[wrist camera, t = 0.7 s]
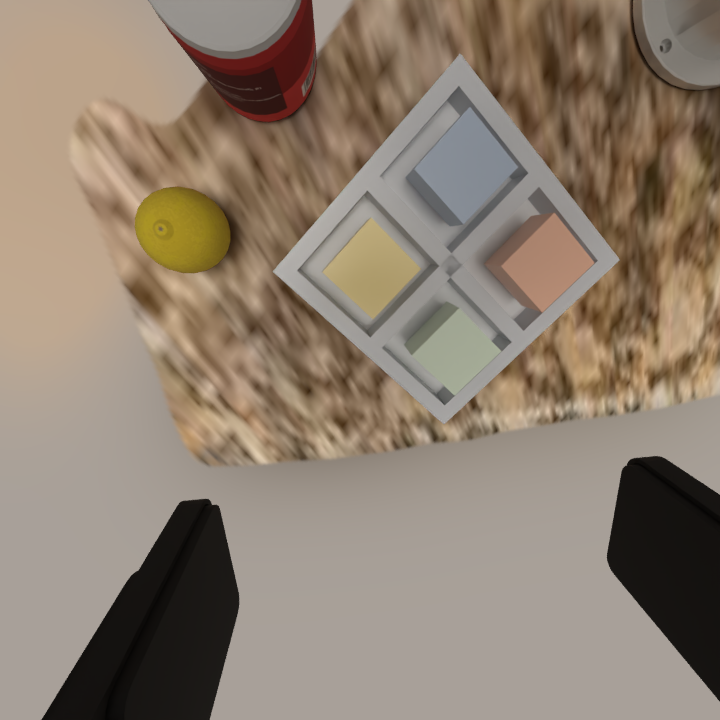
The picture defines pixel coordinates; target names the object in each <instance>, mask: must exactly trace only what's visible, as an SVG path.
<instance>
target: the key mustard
mask: <svg viewBox="0 0 720 720" xmlns="http://www.w3.org/2000/svg"><path fill="white" fill-rule="evenodd" d="M420 270H421V268H420V267H419V266H418V265H417V264H416V263H415V262H414V261H413V260H412V259H411V258H410V257H409V256H408V255H407V254H406V253H405V252H404V251H403V250H402V249H401V247H400V246H399V245H398V244H397V243H396V242H395V241H394V240H393V239H392V238H391V237H390V236H389V235H388V234H387V233H386V232H385V231H384V230H383V229H382V228H381V227H380V226H379V225H378V224H377V223H376V222H375V221H374V220H373V219H372V218H370V219H368V220H367V221H366V222H365V223H364V224H363V225H362V227H361V228H360V229H359V230H358V231H357V232H356V233H355V234H354V235H353V237H352V238H351V239H350V240H349V241H348V242H347V243H346V244H345V246H344V247H343V248H342V249H341V250H340V251H339V252H338V253H337V255H336V256H335V257H334V258H333V259H332V260H331V261H330V262H329V264H328V265H327V266H326V267H325V268H324V269H323V272H322V273H324V274H325V275H326V276H327V277H328V278H329V279H330V280H331V281H332V282H333V283H334V284H335V285H336V286H338V287H339V288H340V289H341V290H342V291H343V292H344V293H345V294H346V295H347V296H348V297H349V298H350V299H351V300H353V301H354V302H355V303H356V304H357V305H358V306H359V307H360V308H361V309H362V310H363V311H364V312H365V313H366V314H368V315H369V316H370V317H371V318H372V319H374V318H375V317H376V316H377V315H378V314H379V313H380V312H381V311H382V310H383V309H384V308H385V307H386V305H387V304H388V303H389V302H390V301H391V300H392V299H393V298H394V297H395V296H396V295H397V294H398V293H399V292H400V291H401V290H402V289H403V288H404V287H405V285H406V284H407V283H408V282H409V281H410V280H411V279H412V278H413V277H414V276H415V275H416V274H417V273H418V272H419V271H420Z"/></svg>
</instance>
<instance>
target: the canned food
mask: <svg viewBox="0 0 720 720" xmlns="http://www.w3.org/2000/svg"><path fill="white" fill-rule="evenodd" d="M148 1H149V2H150V4H151V5H152V7H153V9H154V10H155V12H156V13H157V15H158V16H159V18H160V19H161V20H162V22H163V23H164V24H165V25H166V27H167V29H168V30H169V31H170V33H171V34H172V35H173V37H174V38H175V39H176V40H177V42H178V43H179V44H180V45H181V47H182V48H183V49H184V50H185V52H186V53H187V54H188V56H189V57H190V58H191V59H192V61H193V62H194V63H195V65H196V66H197V67H198V68H199V70H200V71H201V72H202V74H203V75H204V76H205V77H206V79H207V80H208V81H209V82H210V84H211V85H212V86H213V88H214V89H215V90H216V91H217V93H218V94H219V95H220V96H221V98H222V99H223V100H224V101H225V102H226V103H227V104H228V105H229V106H230V107H231V108H232V109H234V110H235V111H236V112H238V113H239V114H241V115H243V116H245V117H247V118H249V119H253V120H256V121H266V122H271V121H276V120H280V119H283V118H285V117H287V116H289V115H291V114H292V113H293V112H294V111H296V110H297V109H298V108H299V107H300V106H301V104H302V103H303V102H304V101H305V99H306V98H307V96H308V94H309V92H310V90H311V87H312V84H313V81H314V78H315V71H316V43H315V31H314V19H313V7H312V0H148Z"/></svg>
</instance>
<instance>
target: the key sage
mask: <svg viewBox="0 0 720 720" xmlns="http://www.w3.org/2000/svg"><path fill="white" fill-rule="evenodd" d="M404 345H405V347H406V348H407V350H408V351H409V353H410V354H411V355H412V356H413V357H414V358H415V359H416V360H417V361H418V362H419V363H420V364H421V365H422V366H423V367H424V368H425V369H427V370H428V371H429V372H430V373H431V374H432V375H433V376H434V377H435V378H436V379H437V380H438V381H439V382H440V383H442V384H443V385H444V386H445V387H446V388H447V389H448V390H449V391H450V392H451V393H452V394H453V395H454V396H455V395H456V394H457V393H458V392H459V391H460V390H461V389H462V388H463V387H464V386H465V385H466V384H468V383H469V382H470V381H471V380H472V379H473V378H474V377H475V376H476V375H477V374H478V373H479V372H480V371H481V370H482V369H483V368H484V367H486V366H487V365H488V364H489V363H490V362H491V361H492V360H493V359H494V358H495V357H496V356H497V355H498V354H499V353H500V352H501V350H500V349H499V348H498V347H497V346H496V345H495V344H494V343H493V342H492V341H491V340H490V339H489V338H488V337H487V336H486V335H485V334H484V333H483V332H482V331H481V330H480V329H479V328H478V327H477V326H476V325H475V324H474V323H473V321H472V320H471V319H470V318H469V317H468V316H467V315H466V314H465V313H464V312H463V311H462V310H461V309H460V308H459V307H457V306H455V305H453V304H451V303H449V302H447V301H446V302H445V303H444V304H443V305H442V307H441V308H440V309H439V310H438V311H437V312H436V313H435V314H434V315H433V316H432V317H431V318H430V319H429V320H428V321H427V322H426V323H425V324H424V325H423V326H422V327H421V328H420V329H419V330H418V331H417V332H416V333H415V334H414V335H413V336H412V337H411V338H410V339H409V340H408V341H407V342H406V343H405V344H404Z"/></svg>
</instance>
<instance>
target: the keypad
mask: <svg viewBox="0 0 720 720" xmlns="http://www.w3.org/2000/svg"><path fill="white" fill-rule="evenodd" d="M469 107H470V108H471V109H472V110H473V111H474V113H475V114H476V115H477V116H478V118H479V119H480V120H481V121H482V123H483V124H484V125H485V126H486V128H487V129H488V130H489V131H490V133H491V134H492V135H493V136H494V138H495V139H496V140H497V141H498V143H499V144H500V145H501V146H502V148H503V149H504V150H505V151H506V153H507V154H508V155H509V156H510V158H511V159H512V160H513V161H514V163H515V164H516V165H517V166H518V168H517V169H516V170H515V171H514V172H513V173H512V174H511V175H510V176H509V177H508V178H507V179H506V180H505V181H504V183H503V184H502V185H501V186H500V187H499V188H498V189H497V190H496V191H495V192H494V193H493V194H492V195H491V196H490V197H489V198H488V199H487V200H486V201H485V202H484V204H483V205H482V206H481V207H480V208H479V209H478V210H477V211H476V212H475V213H474V214H473V215H472V216H471V217H470V218H469V219H468V220H467V221H466V222H465V224H463V225H456V226H449V225H448V224H447V223H446V222H445V221H444V220H443V219H442V217H441V216H440V215H439V214H438V213H437V212H436V211H435V210H434V209H433V208H432V206H431V205H430V204H429V203H428V202H427V201H426V200H425V199H424V198H423V196H422V195H421V194H420V193H419V192H418V191H417V190H416V189H415V188H414V187H413V185H412V184H411V183H410V182H409V181H408V180H407V179H406V178H405V177H406V176H407V175H408V174H409V173H410V171H411V170H412V169H413V168H414V167H415V166H416V165H417V164H418V163H419V161H420V160H421V159H422V158H423V157H424V156H425V155H426V154H427V152H428V151H429V150H430V149H431V148H432V147H433V146H434V145H435V143H436V142H437V141H438V140H439V139H440V138H441V137H442V136H443V134H444V133H445V132H446V131H447V130H448V129H449V128H450V127H451V125H452V124H453V123H454V122H455V121H456V120H457V119H458V118H459V117H460V116H461V115H462V114H463V113H464V112H465V111H466V110H467V109H468V108H469ZM548 213H555V214H556V215H557V216H558V218H559V219H560V220H561V221H562V223H563V224H564V225H565V226H566V228H567V229H568V230H569V231H570V233H571V234H572V235H573V236H574V238H575V239H576V240H577V241H578V243H579V244H580V245H581V246H582V248H583V249H584V250H585V251H586V253H587V254H588V255H589V256H590V258H591V259H592V260H593V261H594V264H593V265H592V266H591V267H590V268H589V269H588V270H587V271H586V272H585V273H584V274H583V275H582V276H581V277H580V278H578V279H577V280H576V281H575V282H574V283H573V284H572V285H571V286H570V287H569V288H568V289H567V290H566V291H565V292H564V293H563V294H562V295H560V296H559V297H558V298H557V299H556V300H555V301H554V302H553V303H552V304H551V305H550V306H549V307H548V308H547V309H546V310H545V311H544V312H543V313H542V312H539V311H536V310H533V309H530V308H527V307H524V306H521V304H520V303H519V302H518V301H517V300H516V299H515V298H514V297H513V296H512V295H511V293H510V292H509V291H508V290H507V289H506V288H505V287H504V286H503V285H502V283H501V282H500V281H499V280H498V279H497V278H496V277H495V276H494V275H493V274H492V272H491V271H490V270H489V269H488V268H487V267H486V266H485V265H484V263H485V262H486V261H487V260H488V259H489V258H490V257H491V256H492V255H493V254H494V253H495V252H496V251H497V250H498V249H499V248H500V247H501V246H502V245H503V244H504V243H505V242H506V241H507V240H508V239H509V238H510V237H511V236H512V235H513V234H514V233H515V232H516V231H517V230H518V229H519V228H520V227H521V225H522V224H523V223H524V222H525V221H526V220H527V219H528V218H529V217H530V216H534V215H541V214H548ZM370 218H372V219H373V220H374V221H375V222H376V223H377V224H378V225H379V226H380V227H381V228H382V229H383V230H384V231H385V232H386V233H387V234H388V235H389V236H390V237H391V238H392V239H393V240H394V241H395V242H396V243H397V244H398V245H399V246H400V247H401V249H402V250H403V251H404V252H405V253H406V254H407V255H408V256H409V257H410V258H411V259H412V260H413V261H414V262H415V263H416V264H417V265H418V266H419V267H420V268H421V270H420V271H419V272H418V273H417V274H416V275H415V276H414V277H413V278H412V279H411V280H410V281H409V282H408V283H407V284H406V285H405V287H404V288H403V289H402V290H401V291H400V292H399V293H398V294H397V295H396V296H395V297H394V298H393V299H392V300H391V301H390V302H389V303H388V304H387V305H386V307H385V308H384V309H383V310H382V311H381V312H380V313H379V314H378V315H377V316H376V317H375V318H374V319H372V318H371V317H370V316H369V315H368V314H366V313H365V312H364V311H363V310H362V309H361V308H360V307H359V306H358V305H357V304H356V303H355V302H354V301H353V300H351V299H350V298H349V297H348V296H347V295H346V294H345V293H344V292H343V291H342V290H341V289H340V288H339V287H338V286H336V285H335V284H334V283H333V282H332V281H331V280H330V279H329V278H328V277H327V276H326V275H325V274H324V273H322V272H323V269H324V268H325V267H326V266H327V265H328V264H329V262H330V261H331V260H332V259H333V258H334V257H335V256H336V255H337V253H338V252H339V251H340V250H341V249H342V248H343V247H344V246H345V244H346V243H347V242H348V241H349V240H350V239H351V238H352V237H353V235H354V234H355V233H356V232H357V231H358V230H359V229H360V228H361V227H362V225H363V224H364V223H365V222H366V221H367V220H368V219H370ZM619 260H620V259H619V258H618V257H617V255H616V254H615V253H614V252H613V250H612V249H611V248H610V246H609V245H608V244H607V242H606V241H605V240H604V239H603V237H602V236H601V235H600V233H599V232H598V231H597V230H596V228H595V227H594V226H593V224H592V223H591V222H590V221H589V219H588V218H587V217H586V215H585V214H584V213H583V211H582V210H581V209H580V208H579V206H578V205H577V204H576V202H575V201H574V200H573V199H572V197H571V196H570V195H569V193H568V192H567V191H566V189H565V188H564V187H563V186H562V184H561V183H560V182H559V180H558V179H557V178H556V177H555V175H554V174H553V173H552V171H551V170H550V169H549V168H548V166H547V165H546V164H545V162H544V161H543V160H542V158H541V157H540V156H539V155H538V153H537V152H536V151H535V149H534V148H533V147H532V146H531V144H530V143H529V142H528V140H527V139H526V138H525V136H524V135H523V134H522V133H521V131H520V130H519V129H518V127H517V126H516V125H515V124H514V122H513V121H512V120H511V118H510V117H509V116H508V115H507V113H506V112H505V111H504V109H503V108H502V107H501V105H500V104H499V103H498V102H497V100H496V99H495V98H494V96H493V95H492V94H491V93H490V91H489V90H488V89H487V87H486V86H485V85H484V83H483V82H482V81H481V80H480V78H479V77H478V76H477V74H476V73H475V72H474V71H473V69H472V68H471V67H470V65H469V64H468V63H467V62H466V60H465V59H464V58H463V56H462V55H461V54H459V56H458V57H457V58H456V59H455V60H454V61H453V63H452V64H451V65H450V66H449V67H448V68H447V70H446V71H445V72H444V73H443V74H442V75H441V77H440V78H439V79H438V80H437V81H436V82H435V84H434V85H433V86H432V87H431V88H430V89H429V90H428V92H427V93H426V94H425V95H424V96H423V97H422V99H421V100H420V101H419V102H418V103H417V104H416V106H415V107H414V108H413V109H412V110H411V111H410V113H409V114H408V115H407V116H406V117H405V118H404V120H403V121H402V122H401V123H400V124H399V125H398V127H397V128H396V129H395V130H394V131H393V132H392V134H391V135H390V136H389V137H388V138H387V139H386V140H385V142H384V143H383V144H382V145H381V146H380V147H379V149H378V150H377V151H376V152H375V153H374V154H373V156H372V157H371V158H370V159H369V160H368V161H367V163H366V164H365V165H364V166H363V167H362V168H361V170H360V171H359V172H358V173H357V174H356V175H355V177H354V178H353V179H352V180H351V181H350V182H349V183H348V185H347V186H346V187H345V188H344V189H343V190H342V192H341V193H340V194H339V195H338V196H337V197H336V199H335V200H334V201H333V202H332V203H331V204H330V206H329V207H328V208H327V209H326V210H325V211H324V213H323V214H322V215H321V216H320V217H319V218H318V220H317V221H316V222H315V223H314V224H313V225H312V227H311V228H310V229H309V230H308V231H307V232H306V233H305V235H304V236H303V237H302V238H301V239H300V240H299V242H298V243H297V244H296V245H295V246H294V247H293V249H292V250H291V251H290V252H289V253H288V254H287V256H286V257H285V258H284V259H283V260H282V261H281V263H280V264H279V265H278V266H277V267H276V268H275V270H274V271H273V272H274V273H275V274H276V275H277V276H278V277H279V278H281V279H282V280H283V281H284V282H285V283H286V284H287V285H288V286H289V287H291V288H292V289H293V290H294V291H295V292H296V293H297V294H298V295H300V296H301V297H302V298H303V299H304V300H305V301H306V302H307V303H308V304H310V305H311V306H312V307H313V308H314V309H315V310H316V311H317V312H319V313H320V314H321V315H322V316H323V317H324V318H325V319H326V320H328V321H329V322H330V323H331V324H332V325H333V326H334V327H335V328H336V329H338V330H339V331H340V332H341V333H342V334H343V335H344V336H345V337H347V338H348V339H349V340H350V341H351V342H352V343H353V344H354V345H356V346H357V347H358V348H359V349H360V350H361V351H362V352H363V353H364V354H366V355H367V356H368V357H369V358H370V359H371V360H372V361H373V362H375V363H376V364H377V365H378V366H379V367H380V368H381V369H382V370H384V371H385V372H386V373H387V374H388V375H389V376H390V377H391V378H392V379H394V380H395V381H396V382H397V383H398V384H399V385H400V386H401V387H403V388H404V389H405V390H406V391H407V392H408V393H409V394H410V395H412V396H413V397H414V398H415V399H416V400H417V401H418V402H419V403H420V404H422V405H423V406H424V407H425V408H426V409H427V410H428V411H429V412H431V413H432V414H433V415H434V416H435V417H436V418H437V419H438V420H440V421H441V422H442V423H443V424H445V423H446V422H447V421H448V420H449V419H450V418H451V417H452V416H453V415H455V414H456V413H457V412H458V411H459V410H460V409H461V408H462V407H463V406H464V405H465V404H466V403H467V402H468V401H469V400H471V399H472V398H473V397H474V396H475V395H476V394H477V393H478V392H479V391H480V390H481V389H482V388H483V387H484V386H486V385H487V384H488V383H489V382H490V381H491V380H492V379H493V378H494V377H495V376H496V375H497V374H498V373H499V372H501V371H502V370H503V369H504V368H505V367H506V366H507V365H508V364H509V363H510V362H511V361H512V360H513V359H514V358H515V357H517V356H518V355H519V354H520V353H521V352H522V351H523V350H524V349H525V348H526V347H527V346H528V345H529V344H530V343H532V342H533V341H534V340H535V339H536V338H537V337H538V336H539V335H540V334H541V333H542V332H543V331H544V330H545V329H547V328H548V327H549V326H550V325H551V324H552V323H553V322H554V321H555V320H556V319H557V318H558V317H559V316H560V315H561V314H563V313H564V312H565V311H566V310H567V309H568V308H569V307H570V306H571V305H572V304H573V303H574V302H575V301H576V300H578V299H579V298H580V297H581V296H582V295H583V294H584V293H585V292H586V291H587V290H588V289H589V288H590V287H591V286H593V285H594V284H595V283H596V282H597V281H598V280H599V279H600V278H601V277H602V276H603V275H604V274H605V273H606V272H608V271H609V270H610V269H611V268H612V267H613V266H614V265H615V264H616V263H617V262H618V261H619ZM446 301H447V302H449V303H451V304H453V305H455V306H457V307H459V308H460V309H461V310H462V311H463V312H464V313H465V314H466V315H467V316H468V317H469V318H470V319H471V320H472V321H473V323H474V324H475V325H476V326H477V327H478V328H479V329H480V330H481V331H482V332H483V333H484V334H485V335H486V336H487V337H488V338H489V339H490V340H491V341H492V342H493V343H494V344H495V345H496V346H497V347H498V348H499V349H500V350H501V352H500V353H499V354H498V355H497V356H496V357H495V358H494V359H493V360H492V361H491V362H490V363H489V364H488V365H487V366H486V367H484V368H483V369H482V370H481V371H480V372H479V373H478V374H477V375H476V376H475V377H474V378H473V379H472V380H471V381H470V382H469V383H468V384H466V385H465V386H464V387H463V388H462V389H461V390H460V391H459V392H458V393H457V394H456V395H455V396H454V395H453V394H452V393H451V392H450V391H449V390H448V389H447V388H446V387H445V386H444V385H443V384H442V383H440V382H439V381H438V380H437V379H436V378H435V377H434V376H433V375H432V374H431V373H430V372H429V371H428V370H427V369H425V368H424V367H423V366H422V365H421V364H420V363H419V362H418V361H417V360H416V359H415V358H414V357H413V356H412V355H411V354H410V353H409V351H408V350H407V348H406V347H405V345H404V344H405V343H406V342H407V341H408V340H409V339H410V338H411V337H412V336H413V335H414V334H415V333H416V332H417V331H418V330H419V329H420V328H421V327H422V326H423V325H424V324H425V323H426V322H427V321H428V320H429V319H430V318H431V317H432V316H433V315H434V314H435V313H436V312H437V311H438V310H439V309H440V308H441V307H442V305H443V304H444V303H445V302H446Z"/></svg>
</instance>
